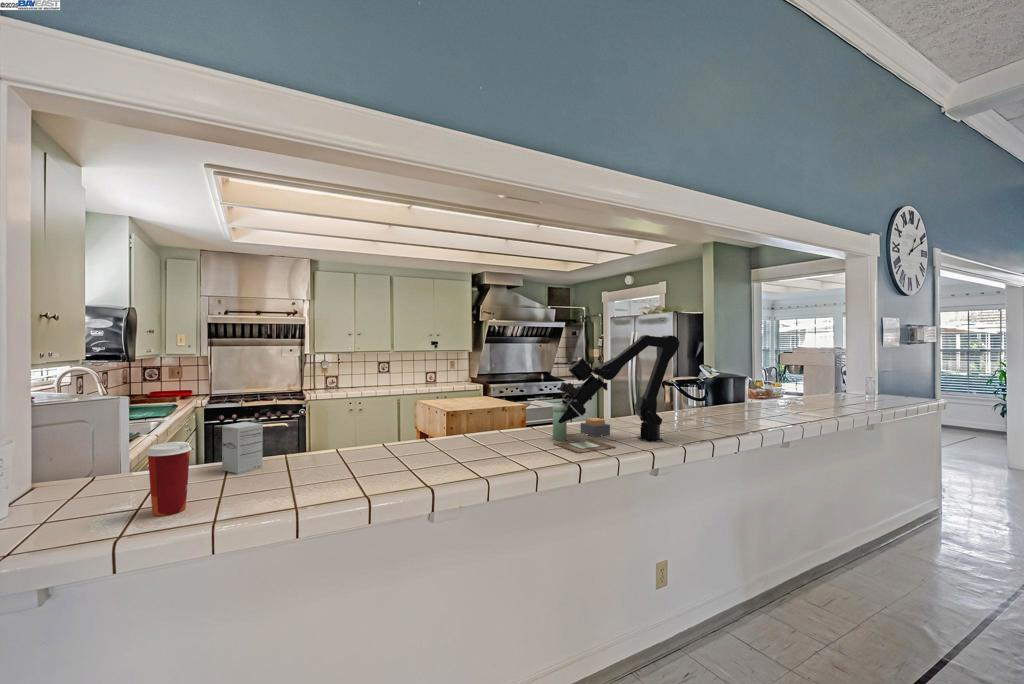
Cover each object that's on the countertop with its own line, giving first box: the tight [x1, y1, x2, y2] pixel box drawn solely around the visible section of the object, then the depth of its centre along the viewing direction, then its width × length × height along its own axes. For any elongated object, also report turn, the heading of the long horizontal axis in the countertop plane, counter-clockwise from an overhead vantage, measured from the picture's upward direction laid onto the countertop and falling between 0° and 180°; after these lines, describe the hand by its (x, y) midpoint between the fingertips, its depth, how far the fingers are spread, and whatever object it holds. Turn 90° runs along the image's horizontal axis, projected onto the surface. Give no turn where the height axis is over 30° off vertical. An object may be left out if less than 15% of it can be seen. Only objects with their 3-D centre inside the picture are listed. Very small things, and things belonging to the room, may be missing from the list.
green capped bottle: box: [552, 402, 568, 442], centre depth 164 cm, size 5×5×13 cm
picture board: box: [553, 438, 617, 454], centre depth 154 cm, size 16×14×1 cm
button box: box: [580, 421, 611, 437], centre depth 174 cm, size 8×8×4 cm
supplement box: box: [221, 421, 264, 475], centre depth 125 cm, size 7×7×13 cm
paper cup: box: [145, 441, 193, 517], centre depth 95 cm, size 8×8×14 cm
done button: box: [585, 417, 606, 426], centre depth 174 cm, size 5×5×2 cm
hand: (557, 420), depth 164 cm, fingers open, 9 cm apart
